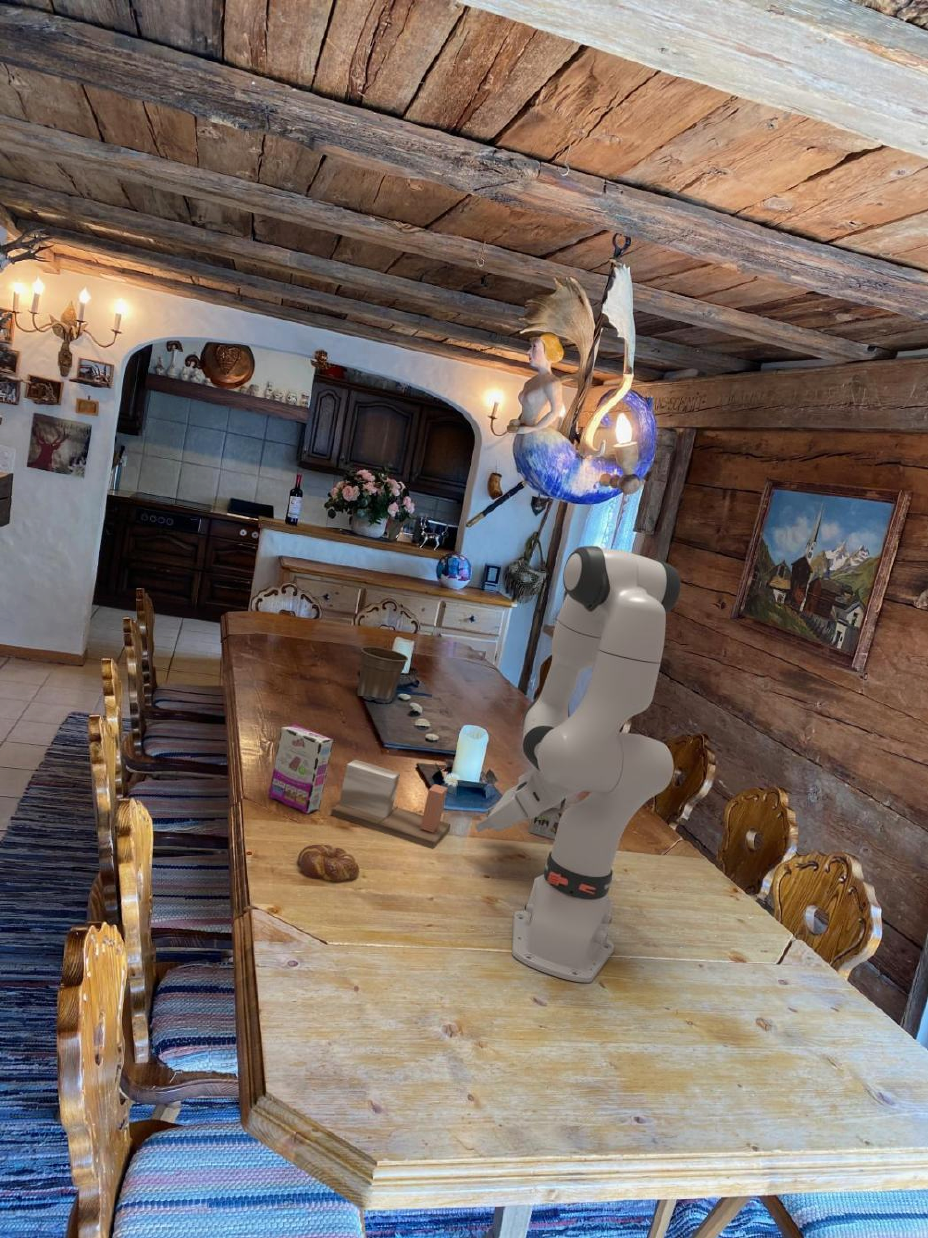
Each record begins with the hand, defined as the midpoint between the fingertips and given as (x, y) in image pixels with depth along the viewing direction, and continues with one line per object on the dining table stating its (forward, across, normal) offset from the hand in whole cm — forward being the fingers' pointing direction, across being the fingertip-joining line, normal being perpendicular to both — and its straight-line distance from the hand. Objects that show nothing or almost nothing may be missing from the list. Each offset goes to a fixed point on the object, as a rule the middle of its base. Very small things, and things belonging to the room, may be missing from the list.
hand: (482, 821), depth 184 cm
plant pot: (+47, -96, -38) cm, 113 cm away
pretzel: (+21, +29, -10) cm, 37 cm away
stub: (+11, 0, -4) cm, 12 cm away
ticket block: (+20, 0, -10) cm, 22 cm away
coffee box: (-3, -24, +13) cm, 28 cm away
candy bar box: (+34, +6, -24) cm, 42 cm away
